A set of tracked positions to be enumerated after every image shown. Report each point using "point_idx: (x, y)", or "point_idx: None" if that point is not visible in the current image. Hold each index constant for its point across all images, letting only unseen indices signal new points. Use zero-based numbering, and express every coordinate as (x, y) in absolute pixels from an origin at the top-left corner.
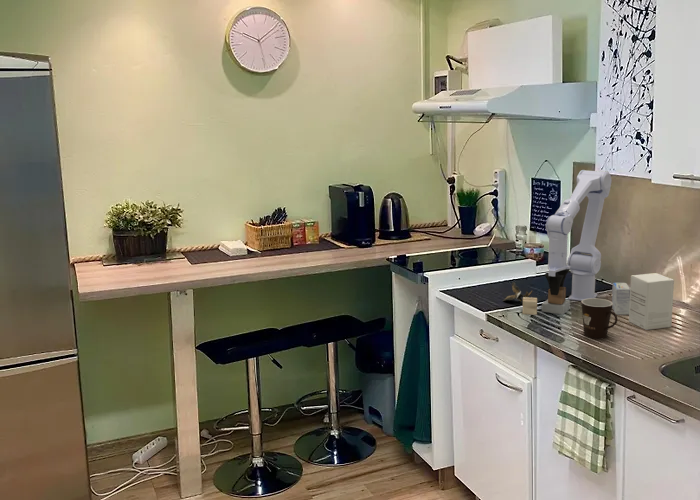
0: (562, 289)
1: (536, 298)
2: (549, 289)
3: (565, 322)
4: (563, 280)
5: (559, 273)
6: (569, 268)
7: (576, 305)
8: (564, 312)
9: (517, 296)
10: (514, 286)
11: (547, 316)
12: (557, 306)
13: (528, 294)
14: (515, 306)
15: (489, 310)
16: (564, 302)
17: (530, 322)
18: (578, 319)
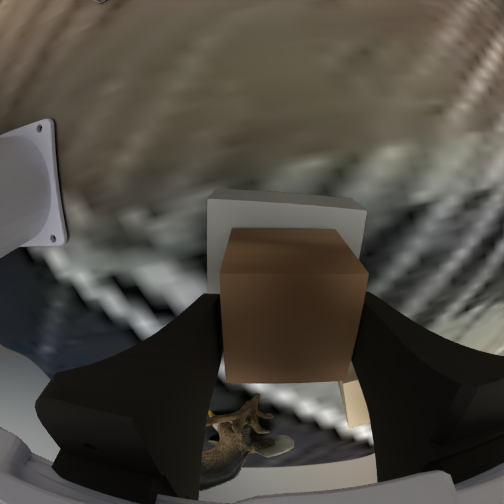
0: (307, 286)
1: (356, 382)
2: (339, 374)
3: (470, 163)
4: (189, 344)
5: (180, 446)
6: (426, 482)
7: (134, 171)
8: (327, 196)
9: (289, 442)
10: (223, 479)
11: (409, 266)
12: (358, 248)
13: (229, 421)
14: (295, 411)
15: (369, 443)
16: (264, 225)
17: (488, 303)
18: (407, 101)
